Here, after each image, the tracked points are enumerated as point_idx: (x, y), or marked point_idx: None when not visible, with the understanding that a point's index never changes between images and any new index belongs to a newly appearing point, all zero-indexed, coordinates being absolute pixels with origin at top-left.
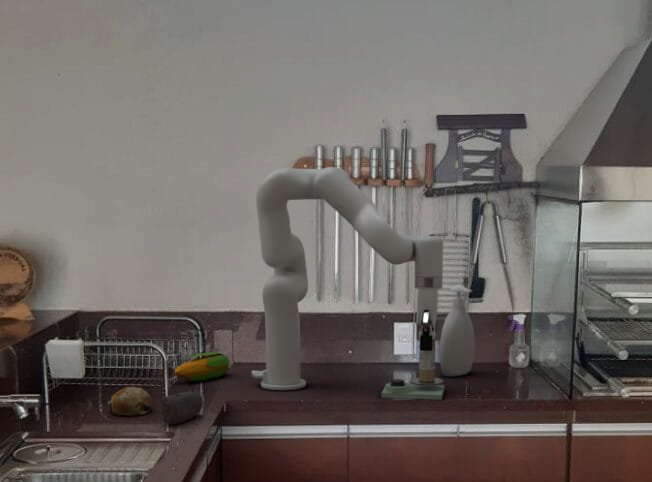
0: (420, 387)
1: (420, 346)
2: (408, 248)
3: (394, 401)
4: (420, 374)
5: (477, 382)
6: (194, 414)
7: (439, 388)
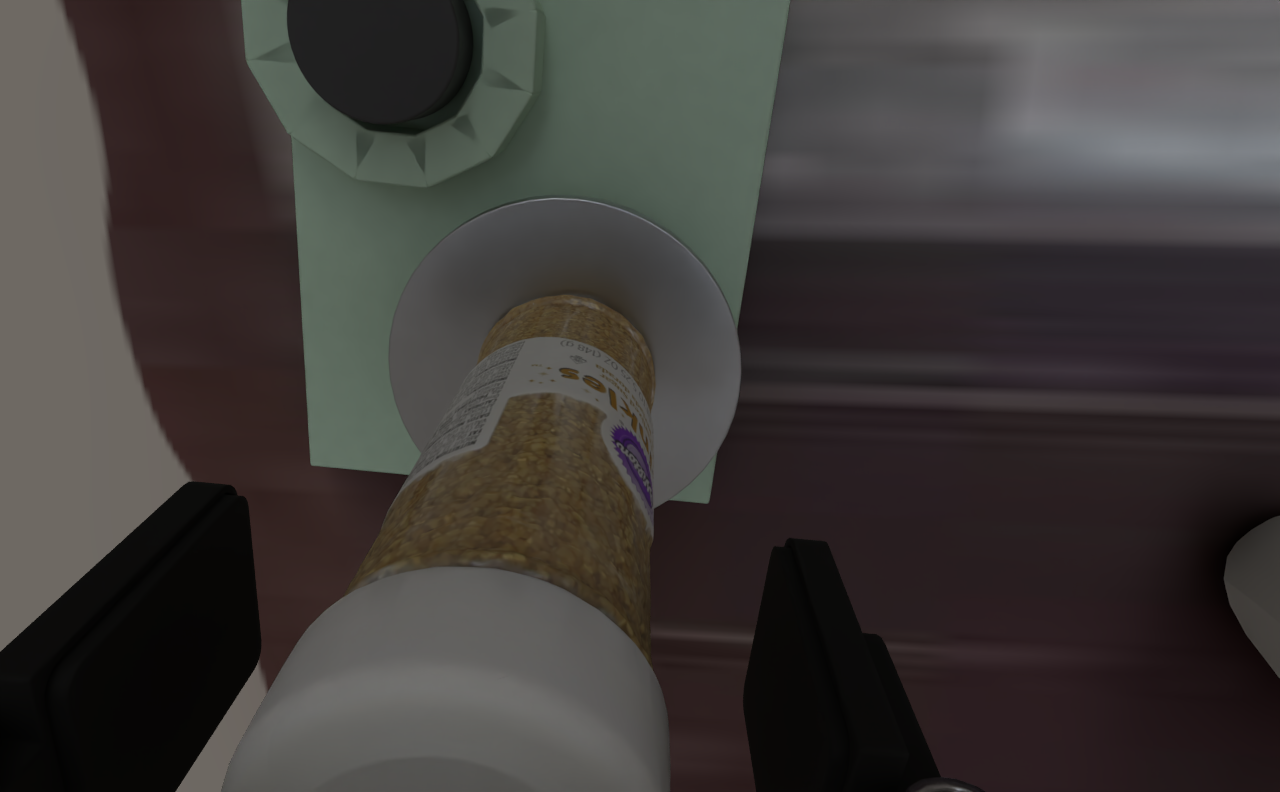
0: None
1: (156, 518)
2: None
3: (172, 7)
4: (507, 332)
5: (985, 722)
6: None
7: None
